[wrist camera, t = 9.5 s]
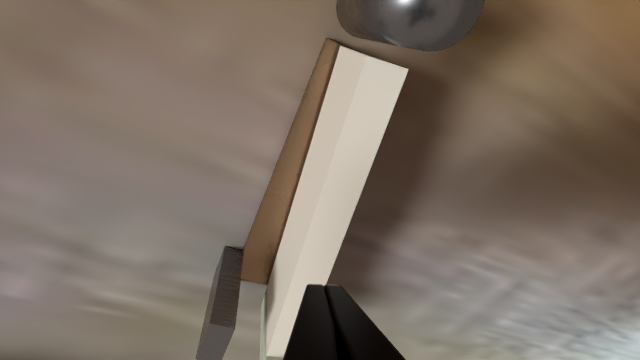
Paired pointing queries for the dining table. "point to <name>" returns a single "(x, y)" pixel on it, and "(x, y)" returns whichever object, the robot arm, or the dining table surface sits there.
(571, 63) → the dining table surface
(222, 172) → the dining table surface
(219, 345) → the gate posts
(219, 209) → the dining table surface
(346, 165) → the gate
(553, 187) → the dining table surface
